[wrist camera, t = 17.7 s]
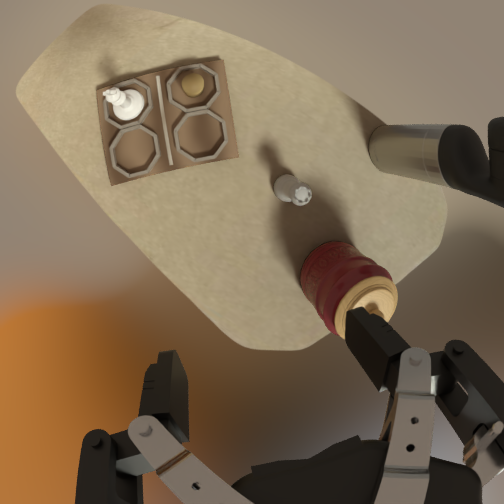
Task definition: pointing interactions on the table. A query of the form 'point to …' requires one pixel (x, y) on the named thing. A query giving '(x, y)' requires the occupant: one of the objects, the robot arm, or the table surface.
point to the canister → (346, 284)
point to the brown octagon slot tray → (170, 122)
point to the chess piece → (125, 102)
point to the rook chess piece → (292, 190)
